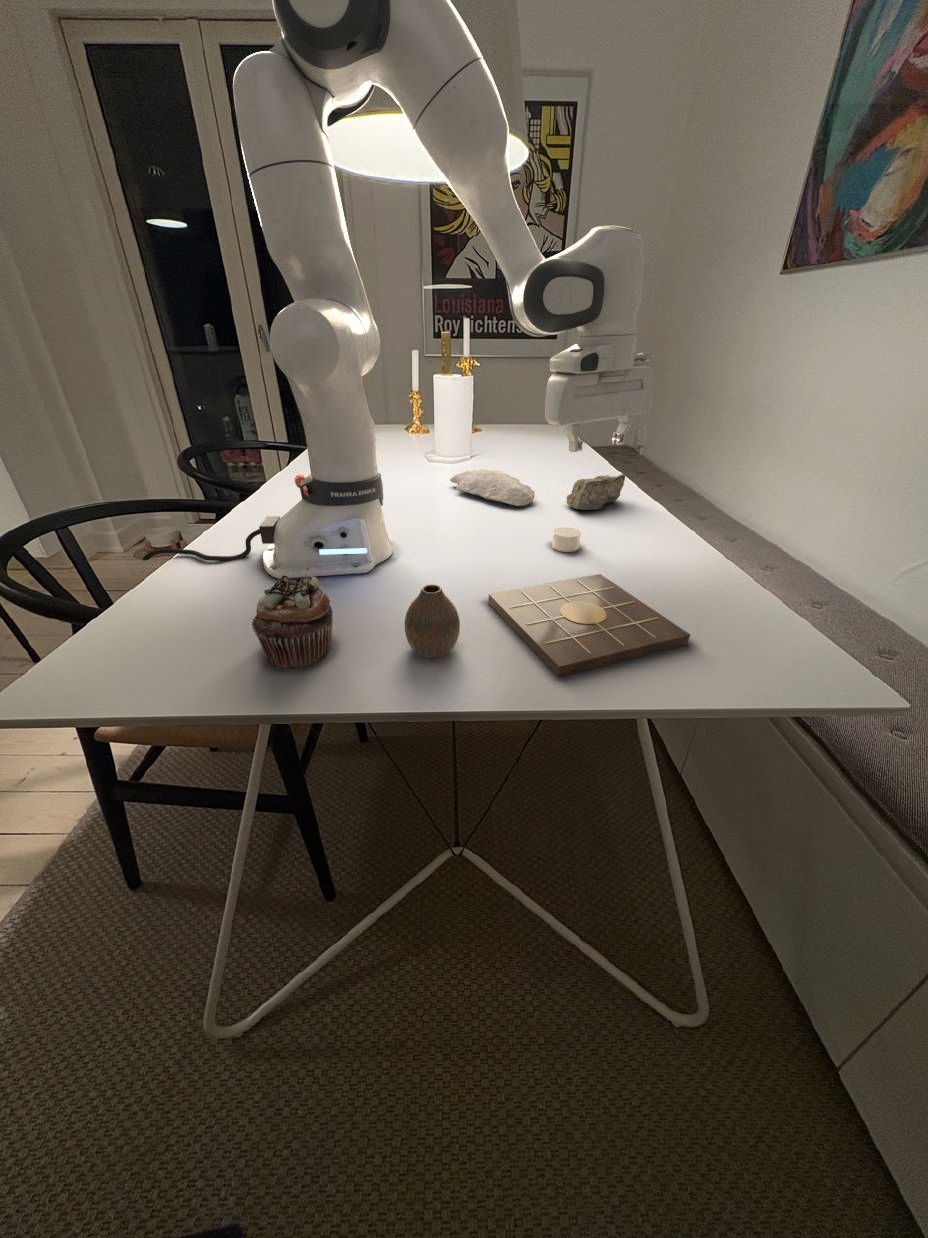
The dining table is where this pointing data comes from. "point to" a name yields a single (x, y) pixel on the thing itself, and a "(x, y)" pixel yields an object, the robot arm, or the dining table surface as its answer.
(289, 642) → the cupcake
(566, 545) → the game stone
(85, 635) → the dining table surface
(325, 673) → the dining table surface
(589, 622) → the board
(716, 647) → the dining table surface
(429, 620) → the vase
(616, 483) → the rock
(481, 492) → the stone
